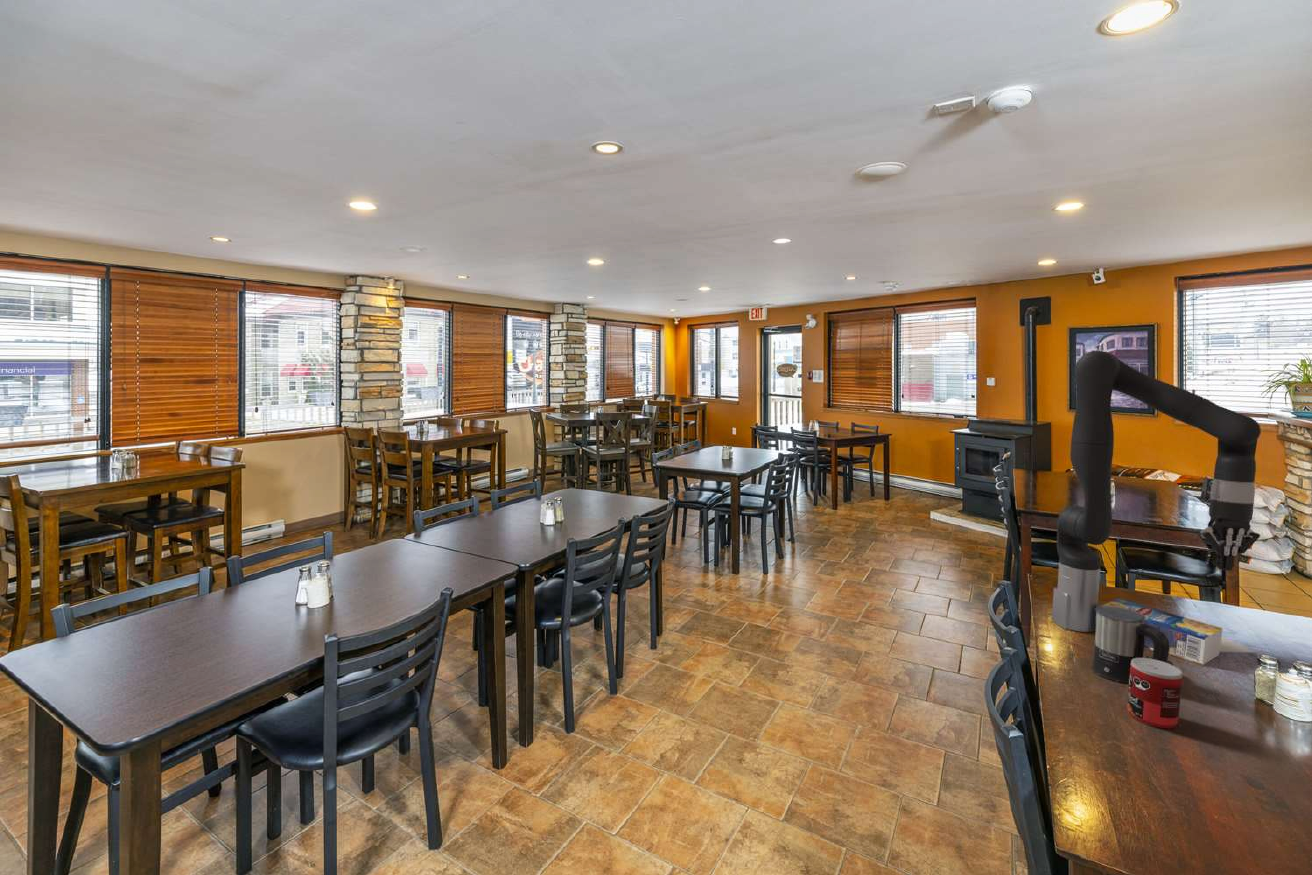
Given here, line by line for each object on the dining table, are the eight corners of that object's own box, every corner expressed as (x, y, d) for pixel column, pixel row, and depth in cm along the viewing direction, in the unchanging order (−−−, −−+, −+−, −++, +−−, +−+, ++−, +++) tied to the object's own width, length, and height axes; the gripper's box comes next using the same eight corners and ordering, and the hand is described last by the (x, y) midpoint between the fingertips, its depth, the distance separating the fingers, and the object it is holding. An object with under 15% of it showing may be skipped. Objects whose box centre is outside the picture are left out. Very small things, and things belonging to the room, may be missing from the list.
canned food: (1125, 703, 126) (1129, 653, 125) (1174, 715, 121) (1179, 664, 120) (1128, 720, 120) (1132, 668, 118) (1180, 734, 115) (1185, 680, 114)
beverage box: (1222, 628, 147) (1118, 598, 166) (1205, 638, 142) (1099, 606, 160) (1219, 654, 148) (1115, 621, 167) (1202, 665, 142) (1096, 630, 161)
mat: (1152, 650, 150) (1152, 649, 150) (1099, 618, 170) (1099, 617, 170) (1254, 653, 149) (1254, 651, 149) (1188, 620, 168) (1188, 619, 168)
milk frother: (1087, 673, 138) (1091, 612, 137) (1099, 651, 150) (1103, 594, 148) (1167, 697, 128) (1173, 631, 127) (1174, 671, 140) (1179, 610, 138)
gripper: (1216, 501, 139) (1208, 573, 140) (1276, 502, 138) (1268, 575, 140) (1189, 495, 146) (1182, 564, 148) (1246, 496, 145) (1239, 565, 147)
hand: (1224, 569), depth 144 cm, fingers closed
